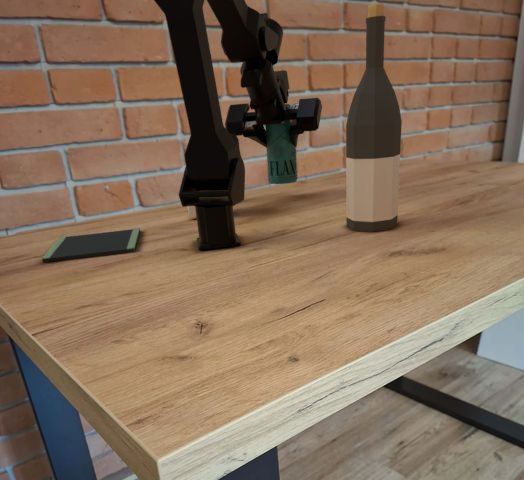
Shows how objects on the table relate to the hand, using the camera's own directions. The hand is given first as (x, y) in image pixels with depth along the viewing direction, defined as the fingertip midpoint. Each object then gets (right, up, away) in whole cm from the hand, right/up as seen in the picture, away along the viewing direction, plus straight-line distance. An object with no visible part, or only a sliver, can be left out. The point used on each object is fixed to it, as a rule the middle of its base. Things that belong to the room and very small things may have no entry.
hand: (282, 146), depth 107 cm
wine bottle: (+13, -23, -25) cm, 36 cm away
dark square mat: (-32, -26, -22) cm, 47 cm away
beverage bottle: (0, -8, +3) cm, 9 cm away
